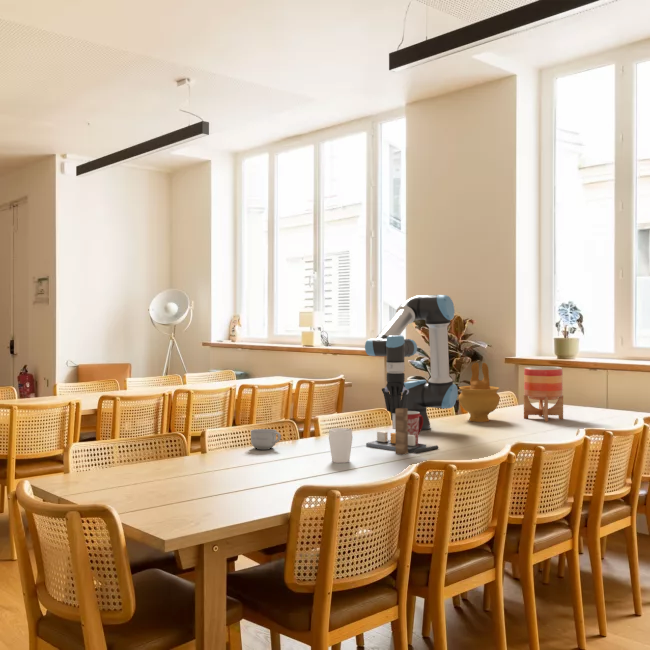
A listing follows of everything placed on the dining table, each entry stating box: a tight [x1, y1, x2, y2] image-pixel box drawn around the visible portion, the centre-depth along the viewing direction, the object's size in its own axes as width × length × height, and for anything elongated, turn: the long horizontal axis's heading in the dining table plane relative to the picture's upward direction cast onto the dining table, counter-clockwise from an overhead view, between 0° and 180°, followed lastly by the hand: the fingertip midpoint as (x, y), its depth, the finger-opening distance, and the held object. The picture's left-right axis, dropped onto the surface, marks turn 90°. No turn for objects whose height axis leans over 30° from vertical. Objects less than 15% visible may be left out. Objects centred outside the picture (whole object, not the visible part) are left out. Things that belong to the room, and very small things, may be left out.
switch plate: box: [365, 439, 427, 454], centre depth 299 cm, size 12×22×2 cm, turn 50°
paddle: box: [376, 430, 389, 442], centre depth 304 cm, size 2×4×4 cm, turn 50°
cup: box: [328, 427, 353, 464], centre depth 273 cm, size 9×9×12 cm
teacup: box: [250, 428, 282, 450], centre depth 298 cm, size 14×11×8 cm
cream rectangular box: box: [408, 435, 415, 446], centre depth 295 cm, size 2×4×4 cm, turn 50°
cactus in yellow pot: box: [457, 362, 501, 423], centre depth 371 cm, size 21×21×30 cm
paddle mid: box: [390, 432, 396, 444], centre depth 299 cm, size 2×4×4 cm, turn 50°
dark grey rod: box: [413, 444, 439, 454], centre depth 291 cm, size 14×1×1 cm, turn 132°
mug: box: [408, 411, 423, 444], centre depth 309 cm, size 13×9×14 cm
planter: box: [523, 365, 564, 423], centre depth 375 cm, size 20×20×27 cm
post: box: [395, 408, 408, 456], centre depth 286 cm, size 4×4×18 cm
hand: (395, 428), depth 299 cm, fingers closed
